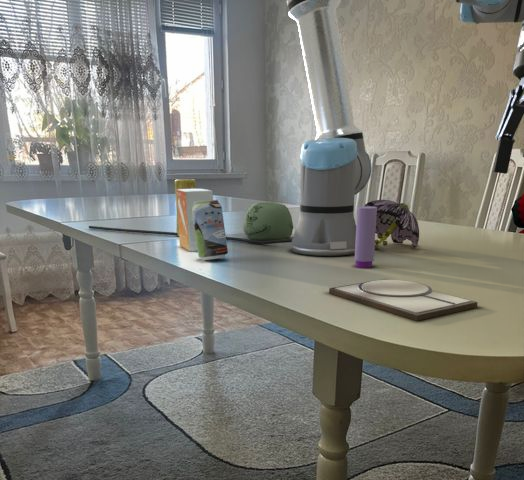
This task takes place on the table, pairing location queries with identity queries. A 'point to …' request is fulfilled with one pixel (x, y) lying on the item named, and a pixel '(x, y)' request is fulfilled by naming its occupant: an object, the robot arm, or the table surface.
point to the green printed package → (209, 229)
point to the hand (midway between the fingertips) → (514, 165)
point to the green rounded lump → (268, 222)
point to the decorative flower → (394, 222)
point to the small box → (189, 215)
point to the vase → (183, 185)
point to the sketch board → (404, 298)
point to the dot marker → (365, 236)
